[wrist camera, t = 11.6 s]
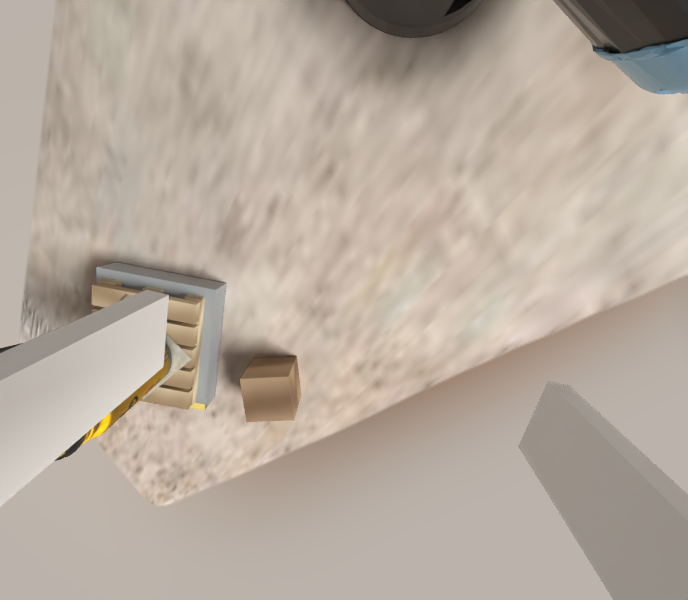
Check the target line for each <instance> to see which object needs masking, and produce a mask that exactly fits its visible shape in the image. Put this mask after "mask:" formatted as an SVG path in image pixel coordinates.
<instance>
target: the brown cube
mask: <svg viewBox="0 0 688 600" xmlns="http://www.w3.org/2000/svg"><path fill="white" fill-rule="evenodd" d="M240 385H241V391H242V396H243V402H244V408H245V414H246V420H247V422H258V421H282V420H294V418H295V414H296V411H297V408H298V404H299V401H300V397H301V389H300V381H299V372H298V364H297V356H287V357H268V358H253V360H252V361H251V363H250V364H249V366H248V367H247V369H246V370H245V372H244V373H243V375H242V376H241V378H240Z"/></svg>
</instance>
